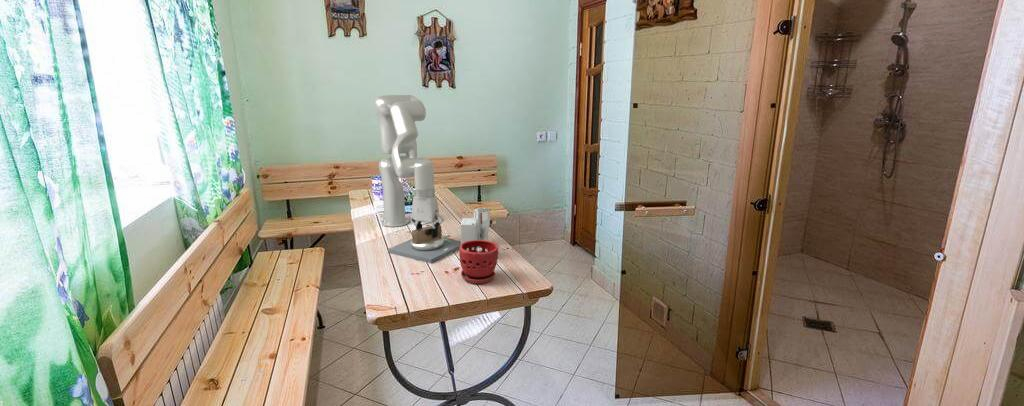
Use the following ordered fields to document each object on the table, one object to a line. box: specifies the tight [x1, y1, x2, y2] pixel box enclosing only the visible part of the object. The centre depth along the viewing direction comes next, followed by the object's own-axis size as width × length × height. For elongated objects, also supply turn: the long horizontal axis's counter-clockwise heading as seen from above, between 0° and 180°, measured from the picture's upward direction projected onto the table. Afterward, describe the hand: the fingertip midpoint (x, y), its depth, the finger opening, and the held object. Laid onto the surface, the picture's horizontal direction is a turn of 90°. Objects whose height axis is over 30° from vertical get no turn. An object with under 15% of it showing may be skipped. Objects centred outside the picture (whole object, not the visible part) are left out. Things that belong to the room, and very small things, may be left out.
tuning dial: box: [411, 225, 451, 251], centre depth 189 cm, size 18×13×7 cm
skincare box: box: [460, 217, 479, 260], centre depth 178 cm, size 8×6×15 cm
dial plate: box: [387, 237, 461, 264], centre depth 189 cm, size 22×22×2 cm
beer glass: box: [472, 207, 491, 241], centre depth 192 cm, size 7×7×15 cm
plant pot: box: [458, 240, 499, 284], centre depth 160 cm, size 13×13×12 cm
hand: (427, 235), depth 188 cm, fingers open, 6 cm apart
